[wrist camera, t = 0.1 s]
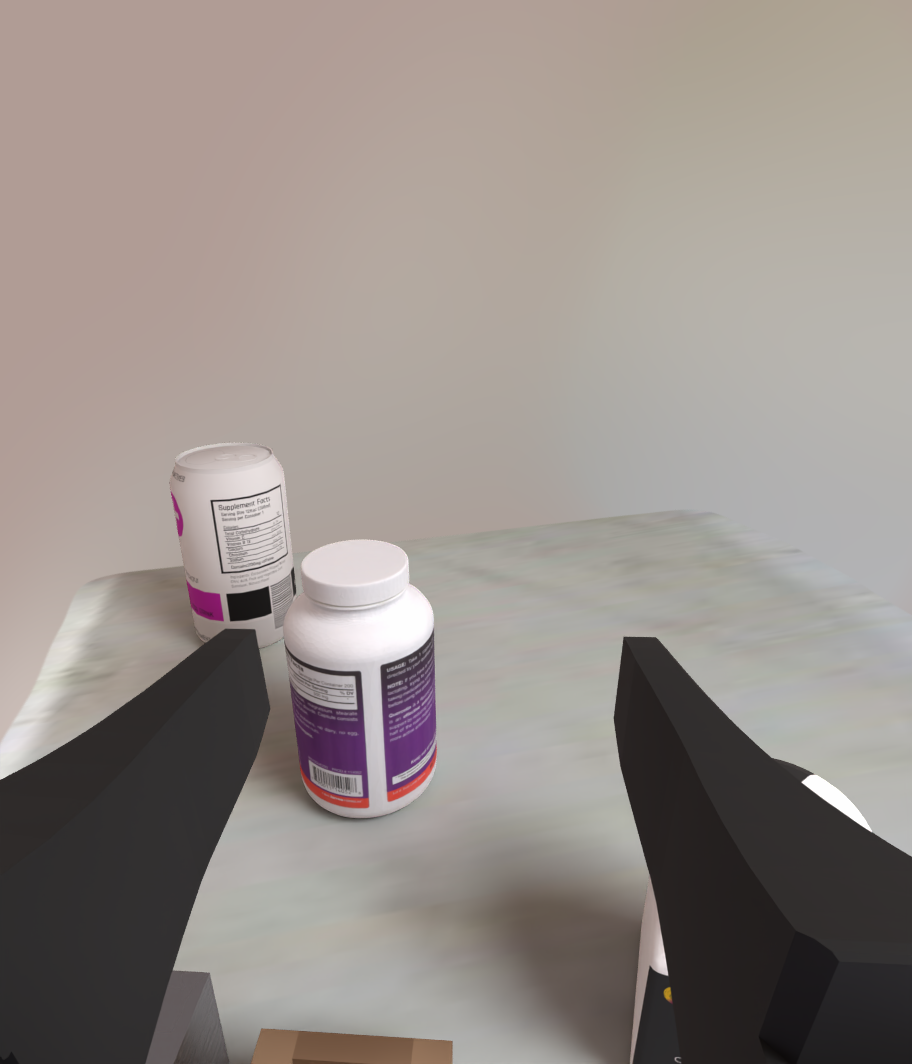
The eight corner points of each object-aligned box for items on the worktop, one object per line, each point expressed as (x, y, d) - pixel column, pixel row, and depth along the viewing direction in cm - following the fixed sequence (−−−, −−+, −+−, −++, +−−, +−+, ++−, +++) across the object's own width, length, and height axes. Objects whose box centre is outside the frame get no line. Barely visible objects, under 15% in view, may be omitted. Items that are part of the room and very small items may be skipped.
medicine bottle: (627, 1087, 25) (667, 857, 21) (641, 921, 31) (674, 715, 27) (836, 1163, 23) (935, 927, 18) (807, 969, 29) (875, 755, 25)
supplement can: (180, 655, 52) (145, 471, 46) (219, 603, 59) (193, 439, 54) (283, 657, 52) (261, 473, 46) (309, 605, 59) (293, 441, 53)
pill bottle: (419, 720, 45) (414, 522, 39) (452, 810, 38) (452, 584, 32) (296, 743, 43) (272, 538, 37) (307, 843, 36) (279, 607, 30)
